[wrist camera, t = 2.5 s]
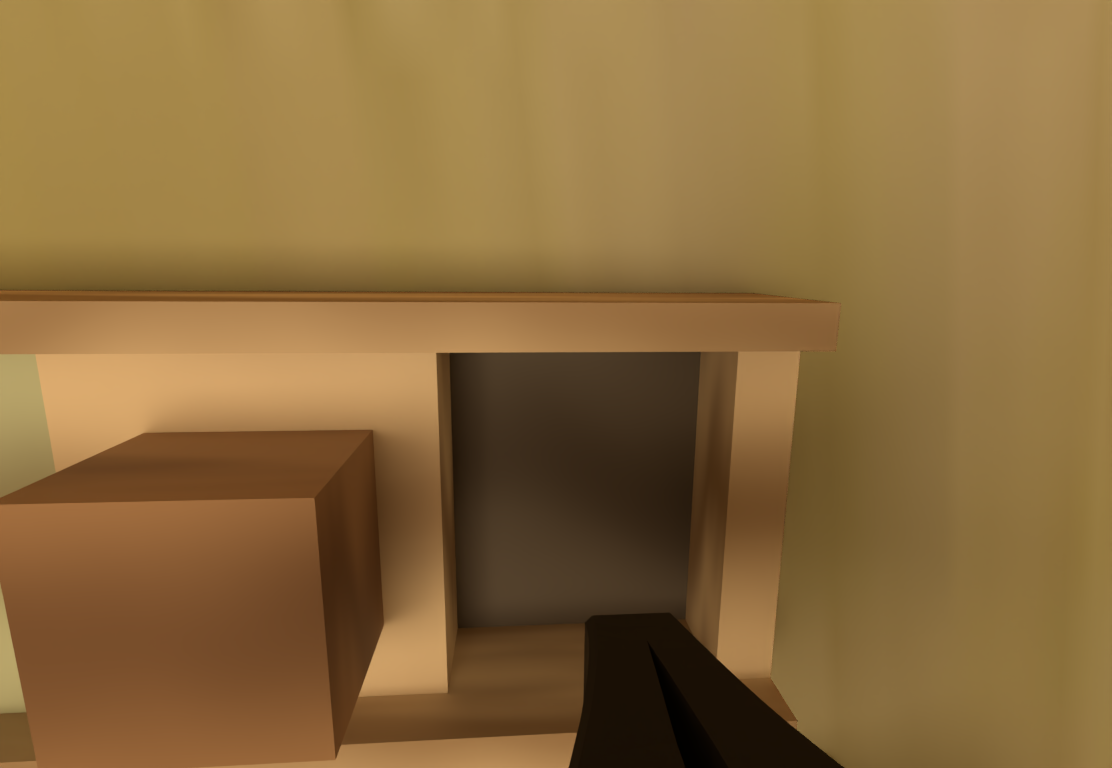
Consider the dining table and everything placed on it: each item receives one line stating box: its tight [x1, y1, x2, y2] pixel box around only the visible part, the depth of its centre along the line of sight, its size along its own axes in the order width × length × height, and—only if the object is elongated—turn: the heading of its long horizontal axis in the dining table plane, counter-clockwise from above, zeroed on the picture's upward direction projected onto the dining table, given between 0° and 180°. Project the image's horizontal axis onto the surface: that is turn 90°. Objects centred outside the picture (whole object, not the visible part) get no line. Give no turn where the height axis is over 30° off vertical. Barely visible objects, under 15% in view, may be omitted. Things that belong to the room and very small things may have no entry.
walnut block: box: [0, 430, 384, 768], centre depth 12 cm, size 5×5×4 cm
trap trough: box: [0, 290, 841, 768], centre depth 14 cm, size 11×36×4 cm, turn 90°
